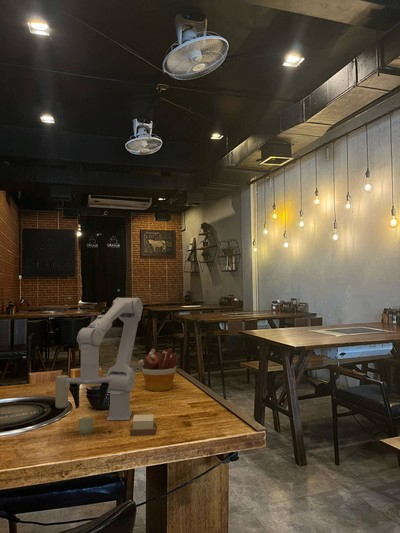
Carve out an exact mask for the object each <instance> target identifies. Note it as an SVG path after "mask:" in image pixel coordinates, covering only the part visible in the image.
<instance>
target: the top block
mask: <svg viewBox="0 0 400 533" xmlns="http://www.w3.org/2000/svg"><path fill="white" fill-rule="evenodd" d="M153 421H154V414H153V413H151V414H149V413H148V414H134V415H133V420H132V423H133V429H153Z"/></svg>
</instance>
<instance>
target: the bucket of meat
mask: <svg viewBox="0 0 400 533" xmlns="http://www.w3.org/2000/svg"><path fill="white" fill-rule="evenodd" d="M172 351H173V350H172V348H170V347H169V348H167V351H166V350H165V351H162V352H156V349H154V348H151V349H150V351H149V352H148V354H147V355H146V356H145V357H144V360H143V359H140V360H138V365H141V371H142V374H143V379H144V384H145V388H146V389H147V390H148V391H149V392H155V391H160V392H166V391H165V390H167V391H169V390H170V389H171V388H172V386H173V383H174V378H175V373H176V369H177V365H178V364H179V361H178V359H177V356H178V355H177V352H173V353H172ZM155 393H156V392H155Z"/></svg>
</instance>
